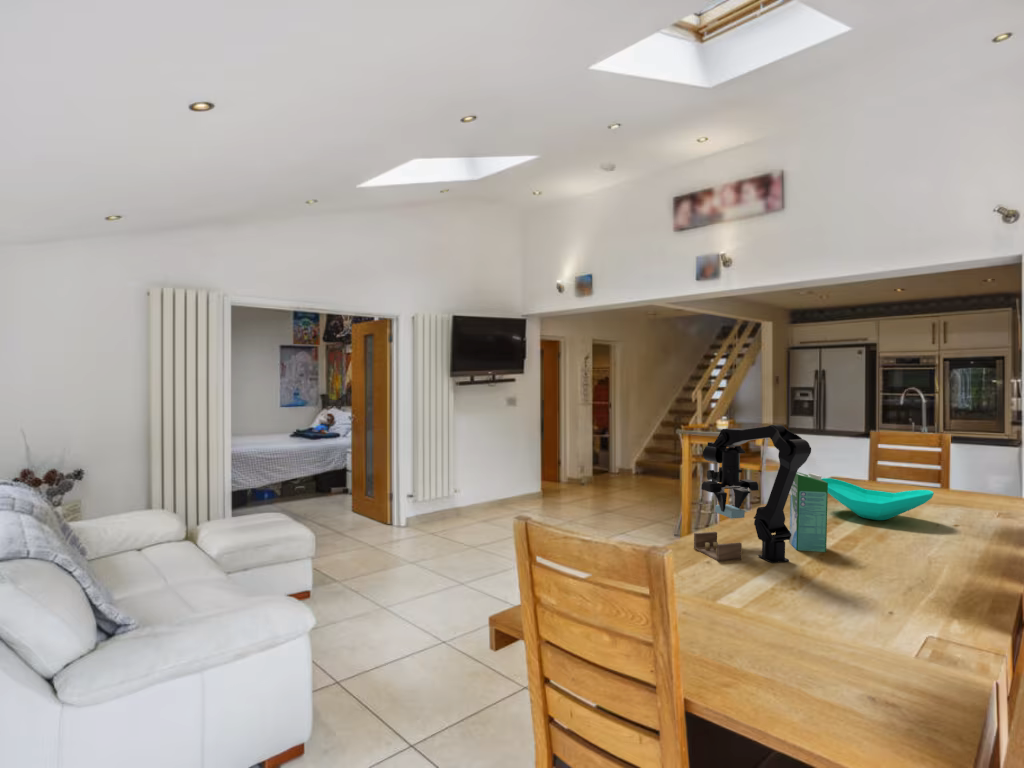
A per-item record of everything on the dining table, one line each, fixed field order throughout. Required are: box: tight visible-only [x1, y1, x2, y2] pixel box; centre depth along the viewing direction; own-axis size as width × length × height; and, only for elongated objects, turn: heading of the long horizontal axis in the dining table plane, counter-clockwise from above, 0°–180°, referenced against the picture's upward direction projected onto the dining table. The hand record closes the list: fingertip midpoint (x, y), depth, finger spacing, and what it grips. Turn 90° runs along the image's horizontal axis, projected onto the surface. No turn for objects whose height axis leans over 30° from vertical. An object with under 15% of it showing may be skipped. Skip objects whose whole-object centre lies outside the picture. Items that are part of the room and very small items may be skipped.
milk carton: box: [788, 471, 829, 553], centre depth 193 cm, size 9×9×25 cm
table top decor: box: [821, 477, 935, 521], centre depth 234 cm, size 40×28×13 cm
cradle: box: [693, 531, 742, 562], centre depth 186 cm, size 14×8×5 cm, turn 15°
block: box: [714, 503, 746, 519], centre depth 197 cm, size 9×5×2 cm, turn 15°
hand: (729, 511), depth 197 cm, fingers closed on block, 5 cm apart
